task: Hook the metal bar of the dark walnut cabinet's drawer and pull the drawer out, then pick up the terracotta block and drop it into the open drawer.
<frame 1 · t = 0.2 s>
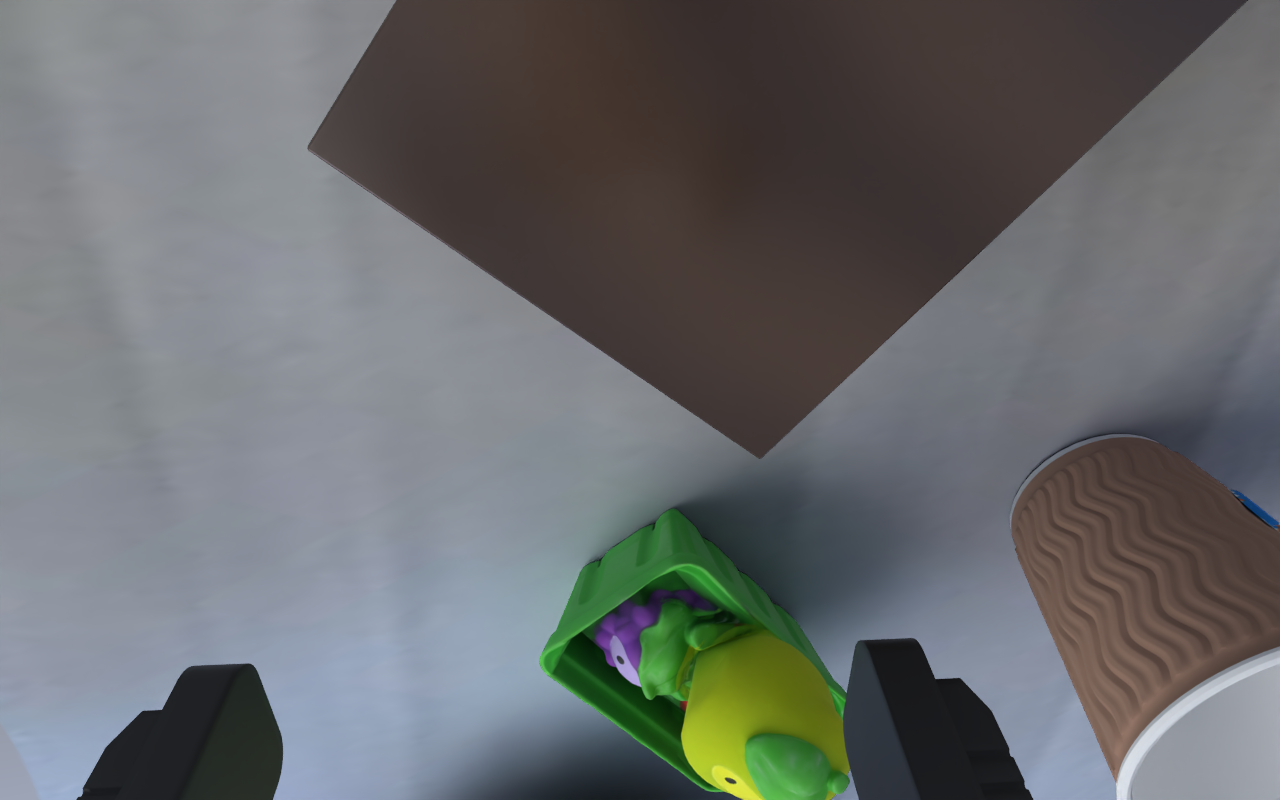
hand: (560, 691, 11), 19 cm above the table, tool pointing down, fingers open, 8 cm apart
cabinet: (723, 0, 24), on the table
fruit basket: (701, 585, 36), on the table
coffee cup: (1089, 498, 35), on the table
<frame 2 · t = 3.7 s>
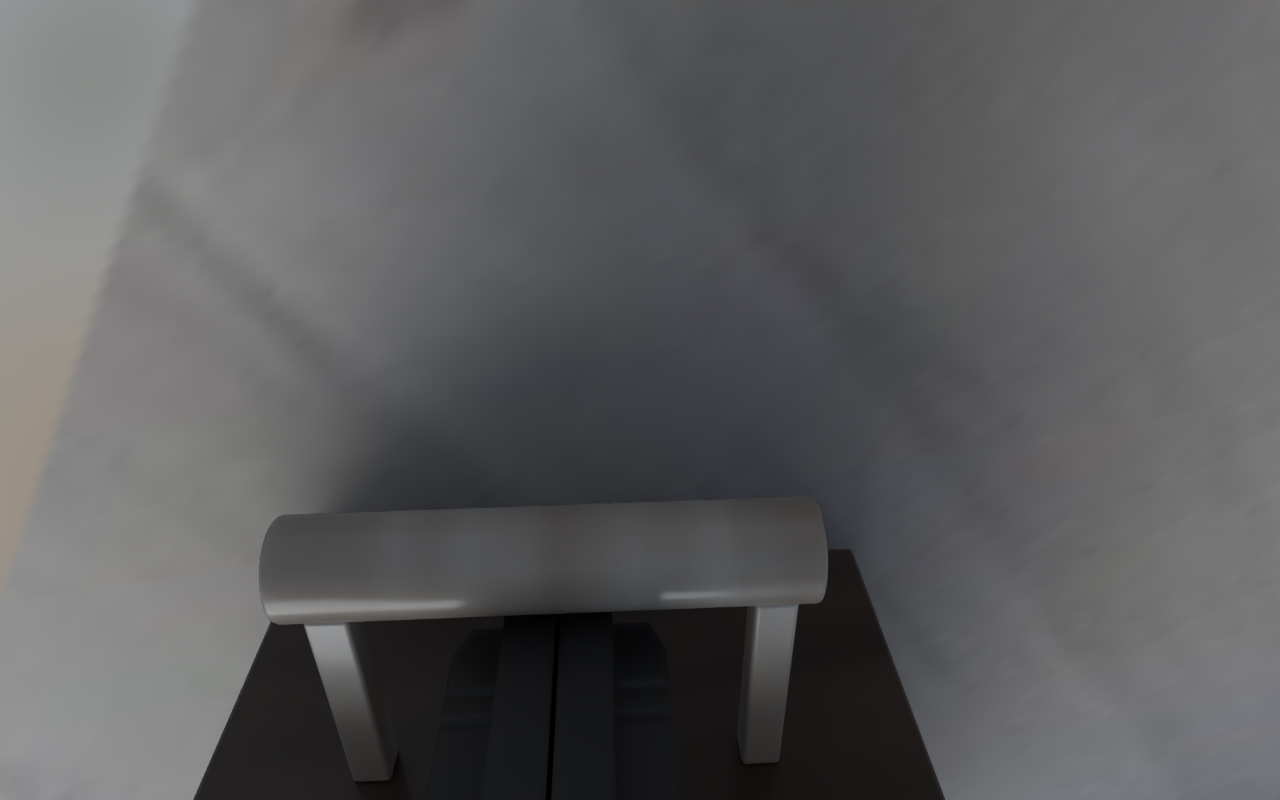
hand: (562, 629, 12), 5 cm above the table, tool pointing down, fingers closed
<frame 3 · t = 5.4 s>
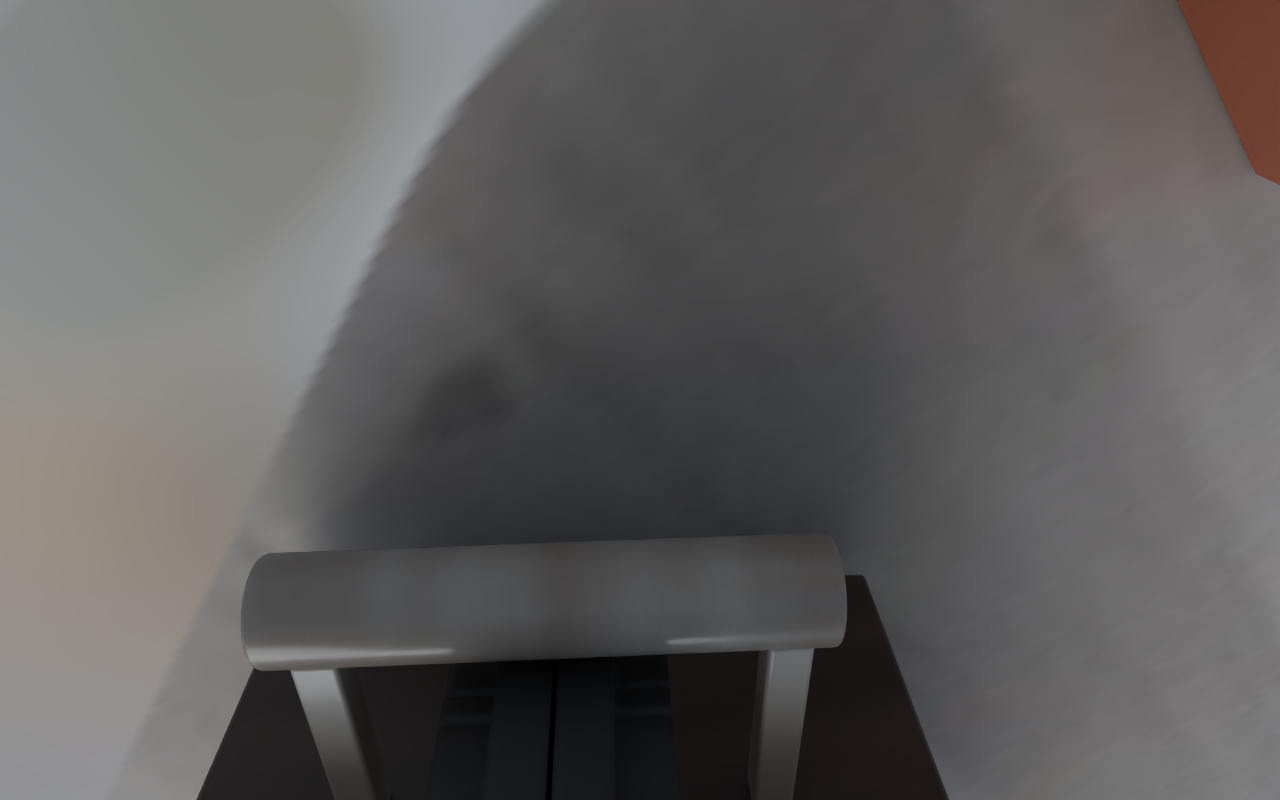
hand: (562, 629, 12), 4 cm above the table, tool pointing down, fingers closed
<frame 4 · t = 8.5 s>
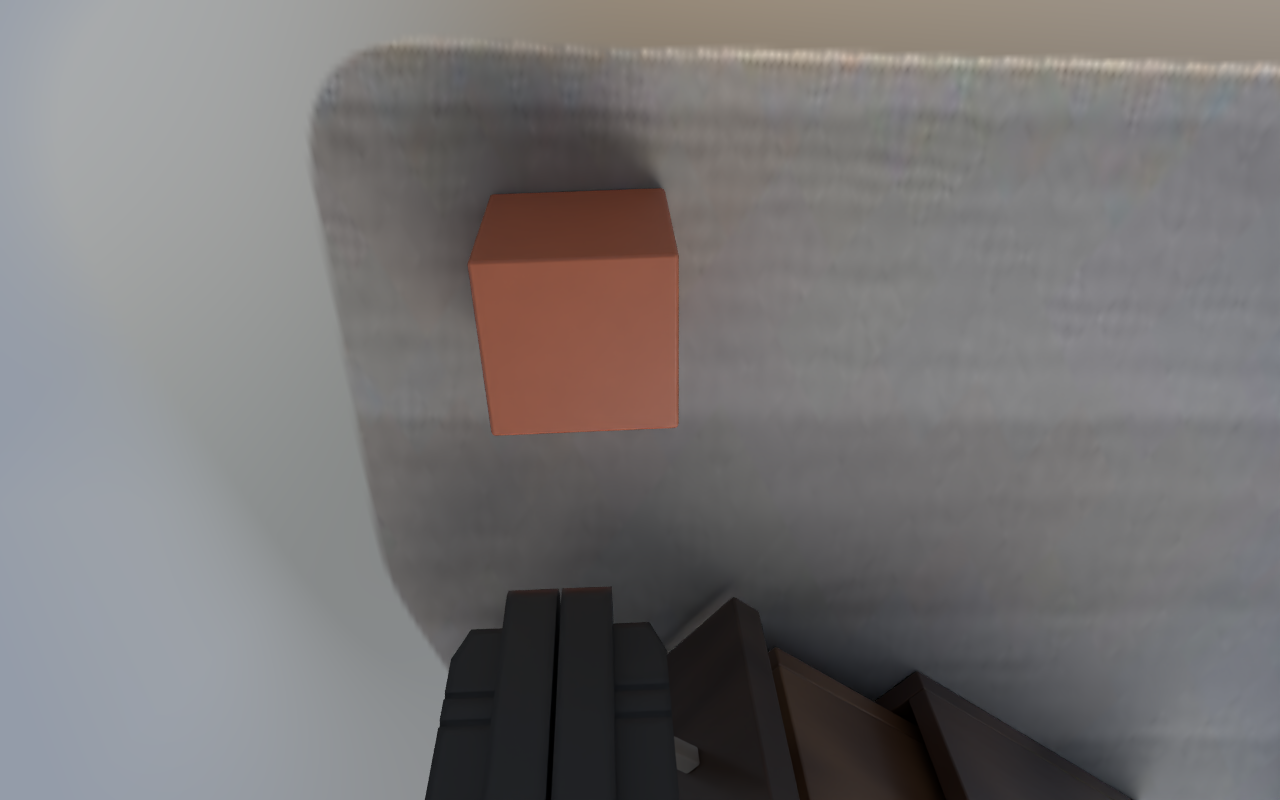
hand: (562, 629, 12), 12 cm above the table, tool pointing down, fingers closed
block: (582, 271, 22), on the table
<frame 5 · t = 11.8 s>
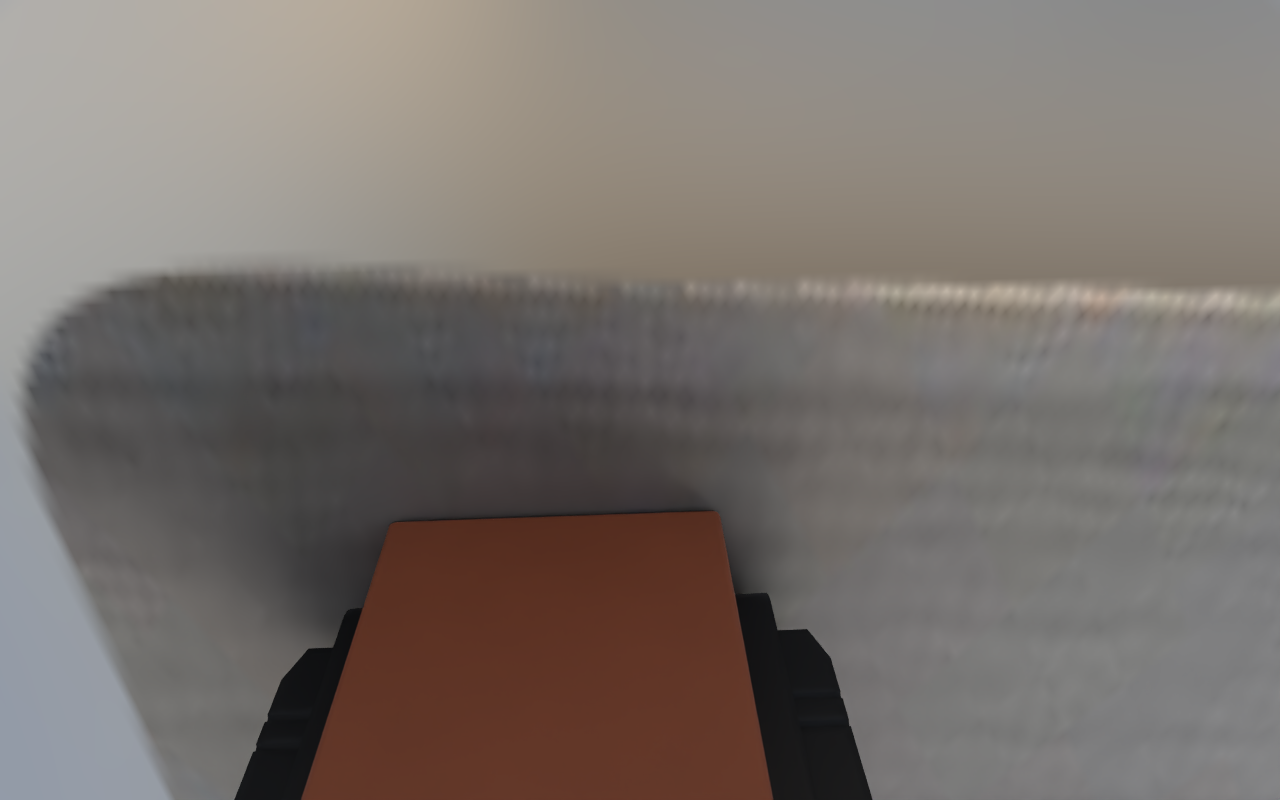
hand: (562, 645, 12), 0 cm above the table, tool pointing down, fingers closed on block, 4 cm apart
block: (564, 629, 12), on the table, touching gripper
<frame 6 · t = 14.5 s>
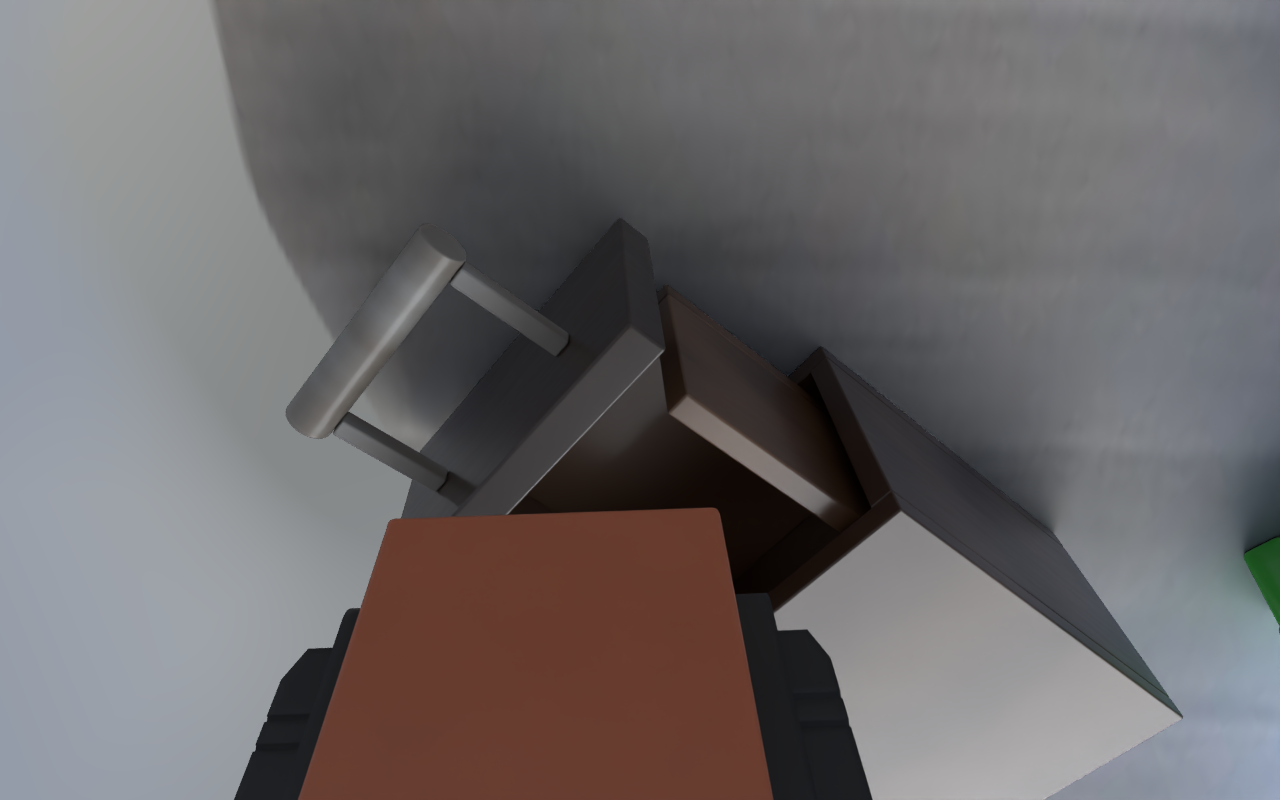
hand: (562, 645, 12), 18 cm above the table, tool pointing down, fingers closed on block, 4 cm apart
block: (564, 626, 12), point 17 cm above the table, touching gripper
cabinet: (830, 544, 35), on the table
drawer: (613, 470, 27), point 5 cm above the table, slide at 7.7 cm
when the fingers open (8 cm above the table, at t = 17.6 s): block drops 4 cm and tips over, resting on drawer.
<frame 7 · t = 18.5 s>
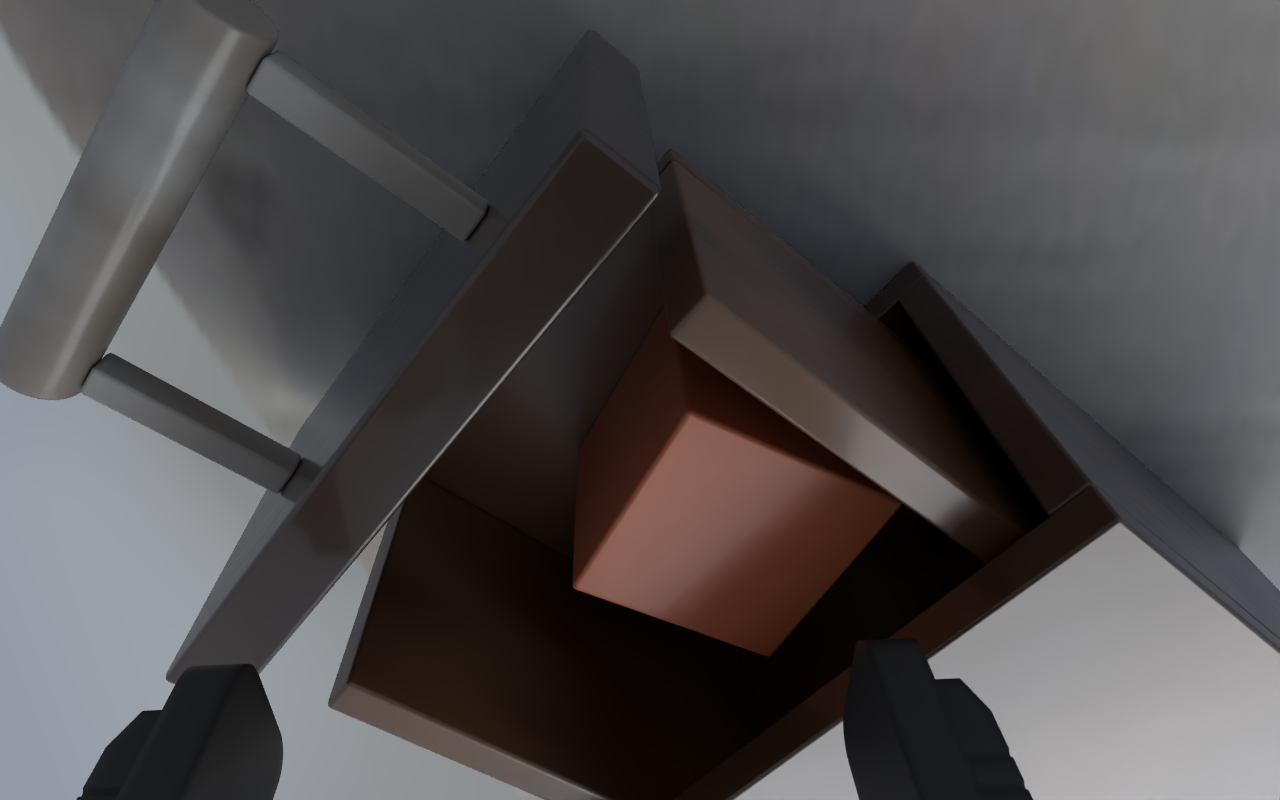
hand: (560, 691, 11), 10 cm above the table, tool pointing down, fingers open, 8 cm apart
block: (622, 434, 16), point 4 cm above the table, tilted 90°, touching drawer
cabinet: (912, 566, 24), on the table
drawer: (585, 456, 16), point 5 cm above the table, slide at 7.6 cm, touching block
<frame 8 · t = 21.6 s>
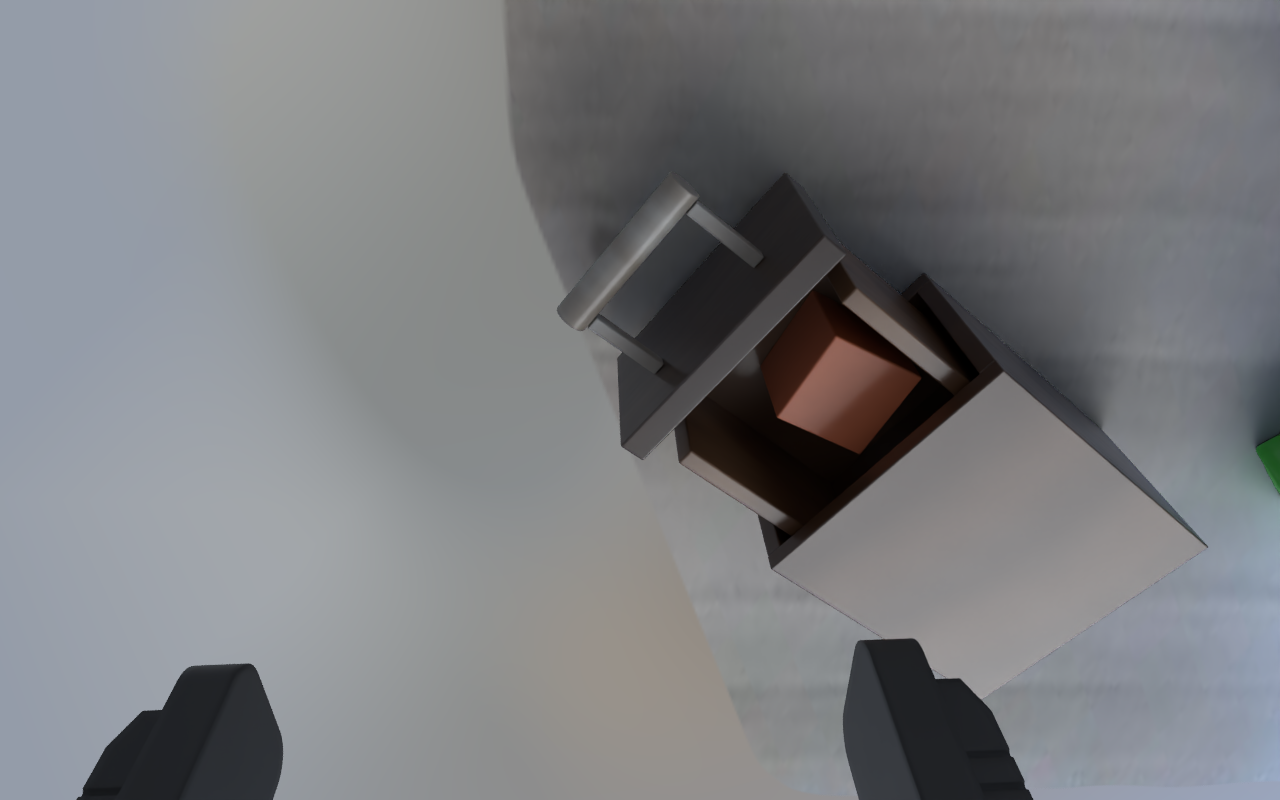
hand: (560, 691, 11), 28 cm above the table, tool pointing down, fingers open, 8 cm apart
block: (794, 351, 36), point 4 cm above the table, tilted 90°, touching drawer
cabinet: (922, 439, 44), on the table
drawer: (779, 361, 36), point 5 cm above the table, slide at 7.6 cm, touching block
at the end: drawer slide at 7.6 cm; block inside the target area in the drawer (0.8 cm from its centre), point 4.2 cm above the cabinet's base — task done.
